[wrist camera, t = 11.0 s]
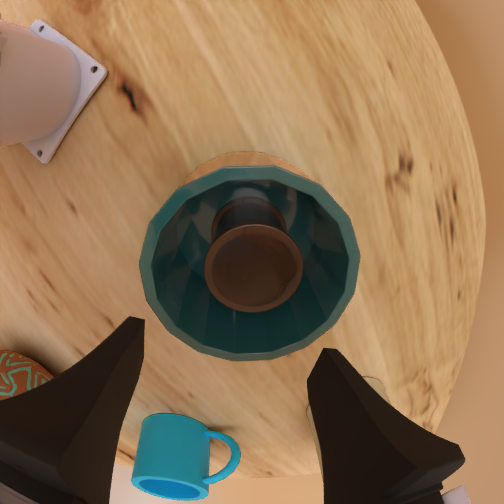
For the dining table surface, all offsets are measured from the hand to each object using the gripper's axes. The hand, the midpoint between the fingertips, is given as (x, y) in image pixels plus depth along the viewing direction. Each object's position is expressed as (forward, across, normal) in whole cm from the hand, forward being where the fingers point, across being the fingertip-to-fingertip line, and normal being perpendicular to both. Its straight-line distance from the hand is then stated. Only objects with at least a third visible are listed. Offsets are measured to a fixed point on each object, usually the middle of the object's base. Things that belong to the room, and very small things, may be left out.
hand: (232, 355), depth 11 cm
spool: (+10, -1, -2) cm, 10 cm away
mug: (+10, 0, +23) cm, 25 cm away
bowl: (+10, 0, -2) cm, 10 cm away
